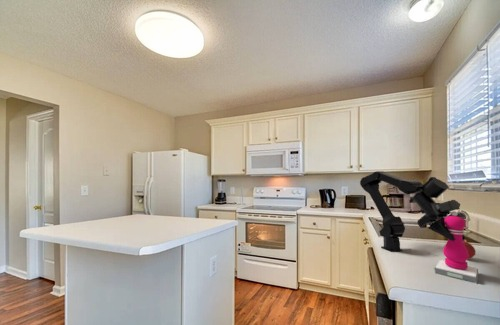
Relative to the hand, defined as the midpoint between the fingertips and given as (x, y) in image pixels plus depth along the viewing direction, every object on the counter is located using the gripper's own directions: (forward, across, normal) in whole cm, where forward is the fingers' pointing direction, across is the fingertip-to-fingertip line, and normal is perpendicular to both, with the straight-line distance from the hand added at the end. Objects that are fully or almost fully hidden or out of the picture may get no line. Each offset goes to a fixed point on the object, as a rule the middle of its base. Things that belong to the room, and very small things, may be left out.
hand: (459, 239), depth 84 cm
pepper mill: (+6, 0, +8) cm, 10 cm away
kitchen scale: (+8, 0, +10) cm, 13 cm away
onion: (+2, +20, +16) cm, 26 cm away
